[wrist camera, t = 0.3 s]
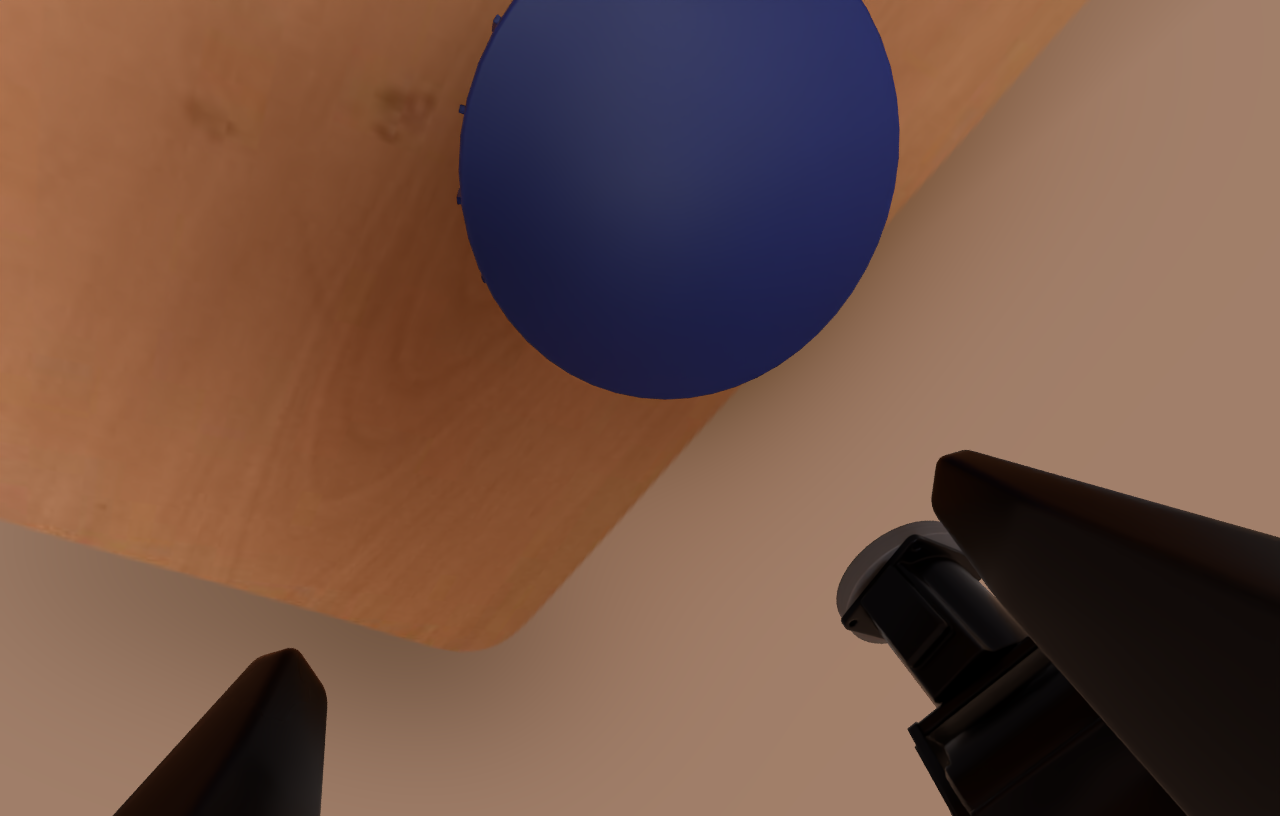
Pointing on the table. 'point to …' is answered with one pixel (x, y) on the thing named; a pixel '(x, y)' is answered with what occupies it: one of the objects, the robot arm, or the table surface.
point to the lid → (677, 181)
